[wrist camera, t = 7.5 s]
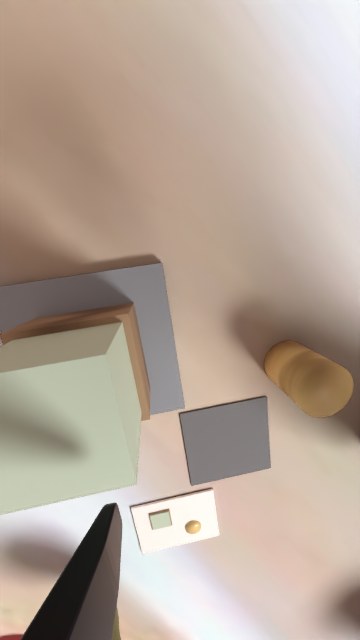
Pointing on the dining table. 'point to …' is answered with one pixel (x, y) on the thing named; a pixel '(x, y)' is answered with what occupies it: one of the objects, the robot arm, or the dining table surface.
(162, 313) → the plate
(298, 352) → the ochre peg
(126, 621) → the dining table surface
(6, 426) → the sage block
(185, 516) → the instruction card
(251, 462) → the charcoal pad
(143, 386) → the walnut block
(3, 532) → the dining table surface
